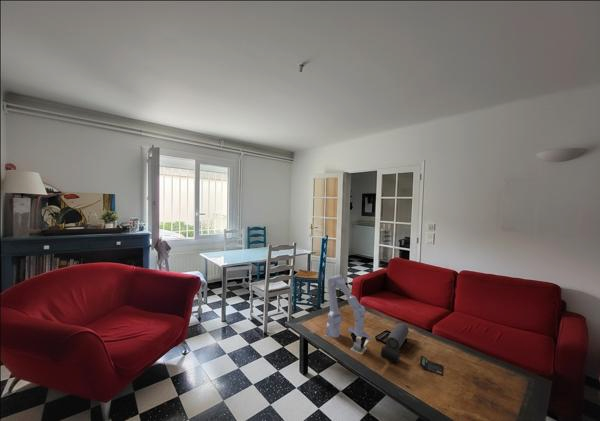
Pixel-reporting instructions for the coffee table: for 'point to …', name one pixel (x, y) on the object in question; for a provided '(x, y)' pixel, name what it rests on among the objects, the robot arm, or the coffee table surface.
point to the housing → (358, 345)
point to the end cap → (390, 354)
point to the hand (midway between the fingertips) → (358, 345)
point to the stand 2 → (358, 351)
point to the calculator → (431, 366)
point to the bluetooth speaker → (397, 336)
